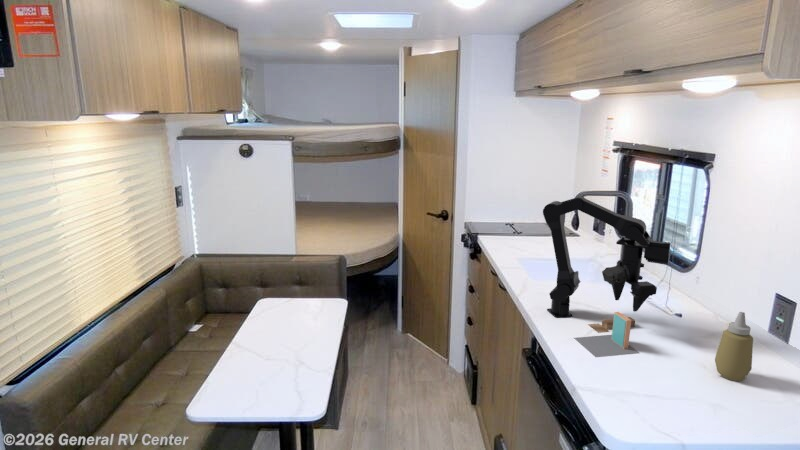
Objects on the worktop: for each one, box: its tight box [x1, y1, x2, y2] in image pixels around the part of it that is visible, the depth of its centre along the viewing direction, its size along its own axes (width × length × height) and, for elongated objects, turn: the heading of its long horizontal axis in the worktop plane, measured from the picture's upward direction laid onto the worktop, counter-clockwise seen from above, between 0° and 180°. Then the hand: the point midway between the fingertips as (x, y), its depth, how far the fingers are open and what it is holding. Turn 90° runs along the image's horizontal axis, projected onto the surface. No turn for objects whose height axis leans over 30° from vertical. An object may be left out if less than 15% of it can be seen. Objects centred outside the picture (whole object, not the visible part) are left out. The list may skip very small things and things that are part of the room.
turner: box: [587, 316, 636, 334], centre depth 152 cm, size 6×14×3 cm, turn 100°
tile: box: [611, 311, 632, 349], centre depth 139 cm, size 6×2×9 cm, turn 10°
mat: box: [573, 334, 640, 358], centre depth 140 cm, size 12×14×1 cm
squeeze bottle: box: [714, 311, 754, 382], centre depth 122 cm, size 8×8×18 cm
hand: (625, 305), depth 151 cm, fingers open, 9 cm apart
